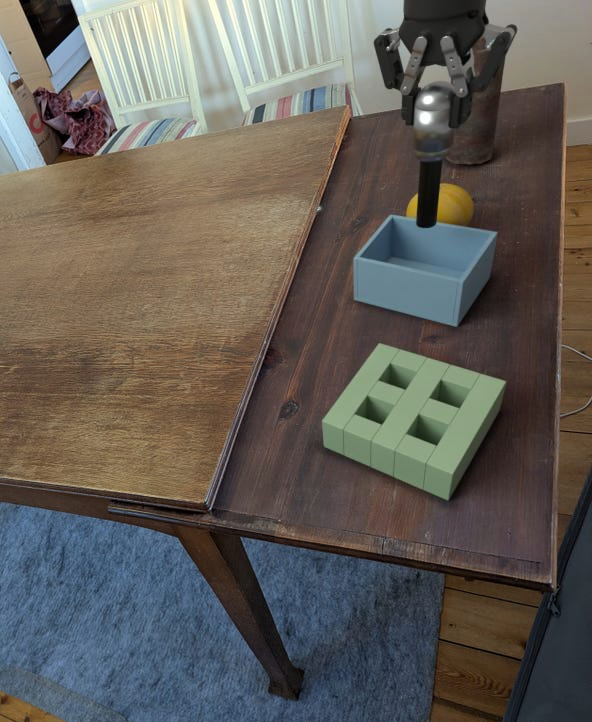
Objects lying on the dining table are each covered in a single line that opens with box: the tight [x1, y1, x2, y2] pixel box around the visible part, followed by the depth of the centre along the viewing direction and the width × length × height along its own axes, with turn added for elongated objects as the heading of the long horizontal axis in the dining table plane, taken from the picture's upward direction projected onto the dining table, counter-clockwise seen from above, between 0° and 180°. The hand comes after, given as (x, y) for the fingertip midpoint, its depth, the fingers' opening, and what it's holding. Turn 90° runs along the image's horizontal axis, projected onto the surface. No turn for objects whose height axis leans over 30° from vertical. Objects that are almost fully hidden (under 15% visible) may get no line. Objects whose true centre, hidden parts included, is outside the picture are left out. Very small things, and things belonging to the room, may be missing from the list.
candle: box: [444, 37, 507, 165], centre depth 99 cm, size 8×7×20 cm
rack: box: [321, 342, 507, 501], centre depth 70 cm, size 14×14×5 cm
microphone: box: [411, 80, 456, 228], centre depth 73 cm, size 4×4×18 cm
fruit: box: [405, 182, 475, 227], centre depth 91 cm, size 9×8×8 cm
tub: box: [352, 214, 499, 328], centre depth 84 cm, size 14×11×8 cm
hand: (434, 123), depth 70 cm, fingers closed on microphone, 4 cm apart
